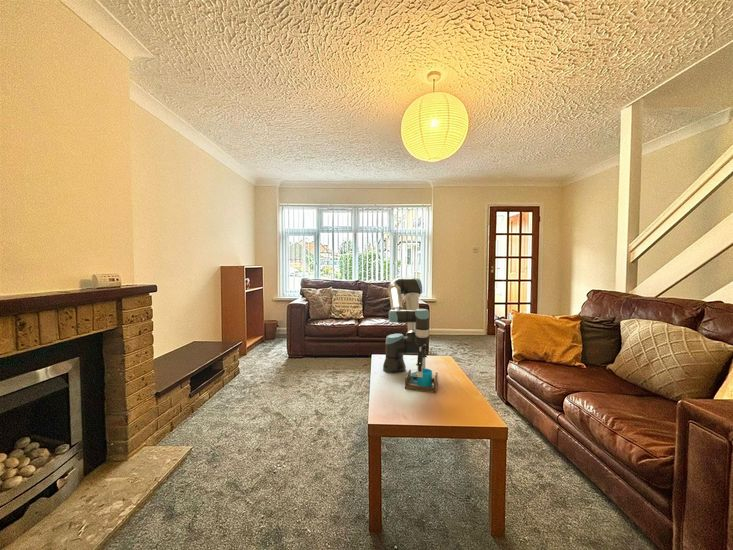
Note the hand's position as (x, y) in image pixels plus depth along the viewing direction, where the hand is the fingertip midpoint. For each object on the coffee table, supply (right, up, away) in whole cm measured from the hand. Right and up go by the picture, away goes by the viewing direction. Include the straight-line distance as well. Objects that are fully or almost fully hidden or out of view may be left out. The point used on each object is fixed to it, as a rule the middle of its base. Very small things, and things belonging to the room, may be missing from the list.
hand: (421, 372), depth 171 cm
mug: (0, -7, -1) cm, 7 cm away
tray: (0, -7, -1) cm, 7 cm away
